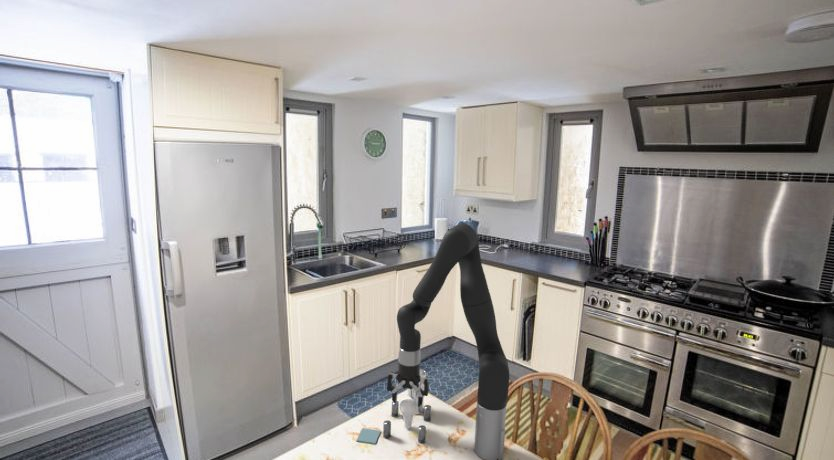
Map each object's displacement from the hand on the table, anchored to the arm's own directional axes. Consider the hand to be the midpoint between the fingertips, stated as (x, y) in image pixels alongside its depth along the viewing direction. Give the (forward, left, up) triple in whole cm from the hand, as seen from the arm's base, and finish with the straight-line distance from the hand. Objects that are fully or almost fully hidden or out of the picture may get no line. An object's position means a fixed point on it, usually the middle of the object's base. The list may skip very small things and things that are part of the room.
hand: (407, 403), depth 141 cm
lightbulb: (0, 0, -10) cm, 10 cm away
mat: (+12, +7, -9) cm, 17 cm away
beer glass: (-1, -11, -10) cm, 15 cm away
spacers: (0, 0, -9) cm, 9 cm away
